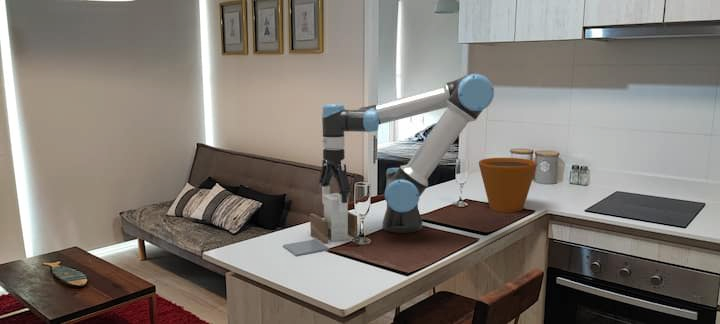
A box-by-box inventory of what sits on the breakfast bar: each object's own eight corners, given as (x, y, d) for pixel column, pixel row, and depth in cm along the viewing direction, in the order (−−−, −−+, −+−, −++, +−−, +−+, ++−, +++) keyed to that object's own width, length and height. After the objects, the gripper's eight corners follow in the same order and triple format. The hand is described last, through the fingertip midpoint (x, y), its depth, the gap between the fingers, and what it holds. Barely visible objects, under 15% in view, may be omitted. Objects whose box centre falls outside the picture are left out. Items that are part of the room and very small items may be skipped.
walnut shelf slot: (342, 229, 202) (341, 209, 201) (357, 237, 192) (357, 215, 191) (310, 235, 196) (310, 213, 195) (324, 243, 186) (324, 221, 185)
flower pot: (515, 218, 214) (516, 168, 210) (466, 207, 231) (467, 162, 228) (546, 207, 229) (548, 161, 226) (499, 198, 247) (499, 155, 243)
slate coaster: (314, 240, 190) (314, 239, 189) (329, 249, 179) (329, 248, 179) (282, 246, 184) (282, 244, 184) (296, 256, 173) (296, 254, 173)
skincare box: (323, 236, 195) (322, 194, 193) (340, 233, 198) (339, 192, 195) (331, 242, 187) (330, 198, 185) (349, 239, 190) (348, 196, 187)
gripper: (309, 145, 196) (310, 201, 200) (340, 153, 175) (341, 216, 178) (327, 143, 200) (328, 199, 203) (360, 151, 178) (360, 213, 182)
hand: (334, 207), depth 191 cm, fingers open, 13 cm apart
